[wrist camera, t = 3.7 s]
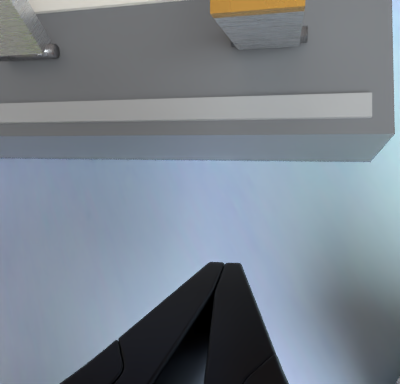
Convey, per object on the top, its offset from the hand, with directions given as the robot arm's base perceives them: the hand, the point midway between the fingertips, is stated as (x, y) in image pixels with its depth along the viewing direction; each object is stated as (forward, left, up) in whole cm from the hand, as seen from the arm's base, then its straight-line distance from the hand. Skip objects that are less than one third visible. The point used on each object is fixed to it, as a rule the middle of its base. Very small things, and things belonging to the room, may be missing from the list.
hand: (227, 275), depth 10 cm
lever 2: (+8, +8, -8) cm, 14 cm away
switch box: (+3, +13, -13) cm, 19 cm away
